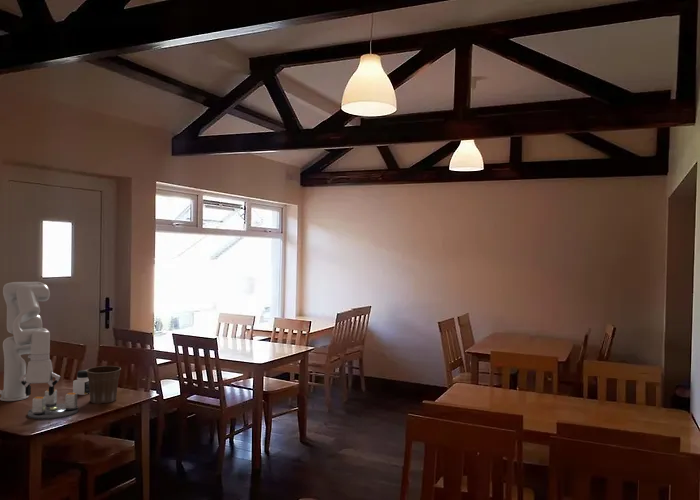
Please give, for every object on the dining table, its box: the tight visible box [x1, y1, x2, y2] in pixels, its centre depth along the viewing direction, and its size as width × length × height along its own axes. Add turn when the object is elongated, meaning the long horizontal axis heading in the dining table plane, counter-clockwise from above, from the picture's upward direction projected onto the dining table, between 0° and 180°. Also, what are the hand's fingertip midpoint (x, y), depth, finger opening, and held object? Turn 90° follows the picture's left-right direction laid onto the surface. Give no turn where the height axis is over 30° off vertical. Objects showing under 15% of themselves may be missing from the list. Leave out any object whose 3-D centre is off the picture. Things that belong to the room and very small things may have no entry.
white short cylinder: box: [64, 392, 78, 410], centre depth 267 cm, size 5×5×8 cm
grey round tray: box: [27, 403, 80, 421], centre depth 266 cm, size 21×21×2 cm
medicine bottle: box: [72, 369, 90, 396], centre depth 303 cm, size 7×7×12 cm
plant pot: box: [85, 365, 122, 405], centre depth 289 cm, size 16×16×16 cm
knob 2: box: [44, 388, 58, 407], centre depth 272 cm, size 5×5×8 cm
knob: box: [31, 396, 46, 415], centre depth 259 cm, size 5×5×8 cm
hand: (39, 395), depth 258 cm, fingers open, 9 cm apart
